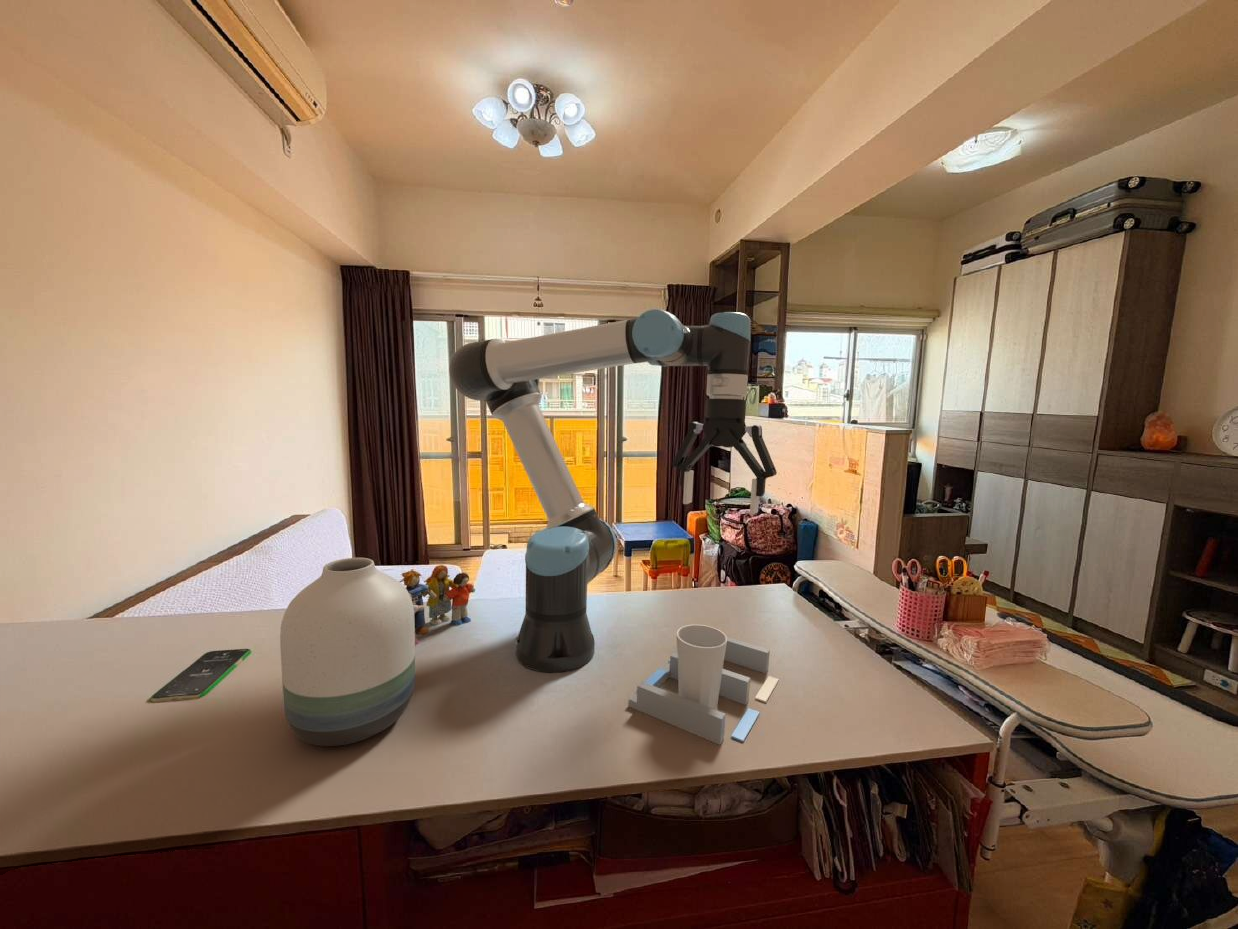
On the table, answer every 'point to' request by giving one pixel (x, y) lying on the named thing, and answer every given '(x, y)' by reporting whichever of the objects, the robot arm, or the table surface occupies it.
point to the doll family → (438, 597)
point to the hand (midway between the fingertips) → (719, 508)
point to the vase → (347, 654)
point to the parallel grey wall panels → (700, 716)
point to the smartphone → (201, 675)
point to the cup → (700, 663)
